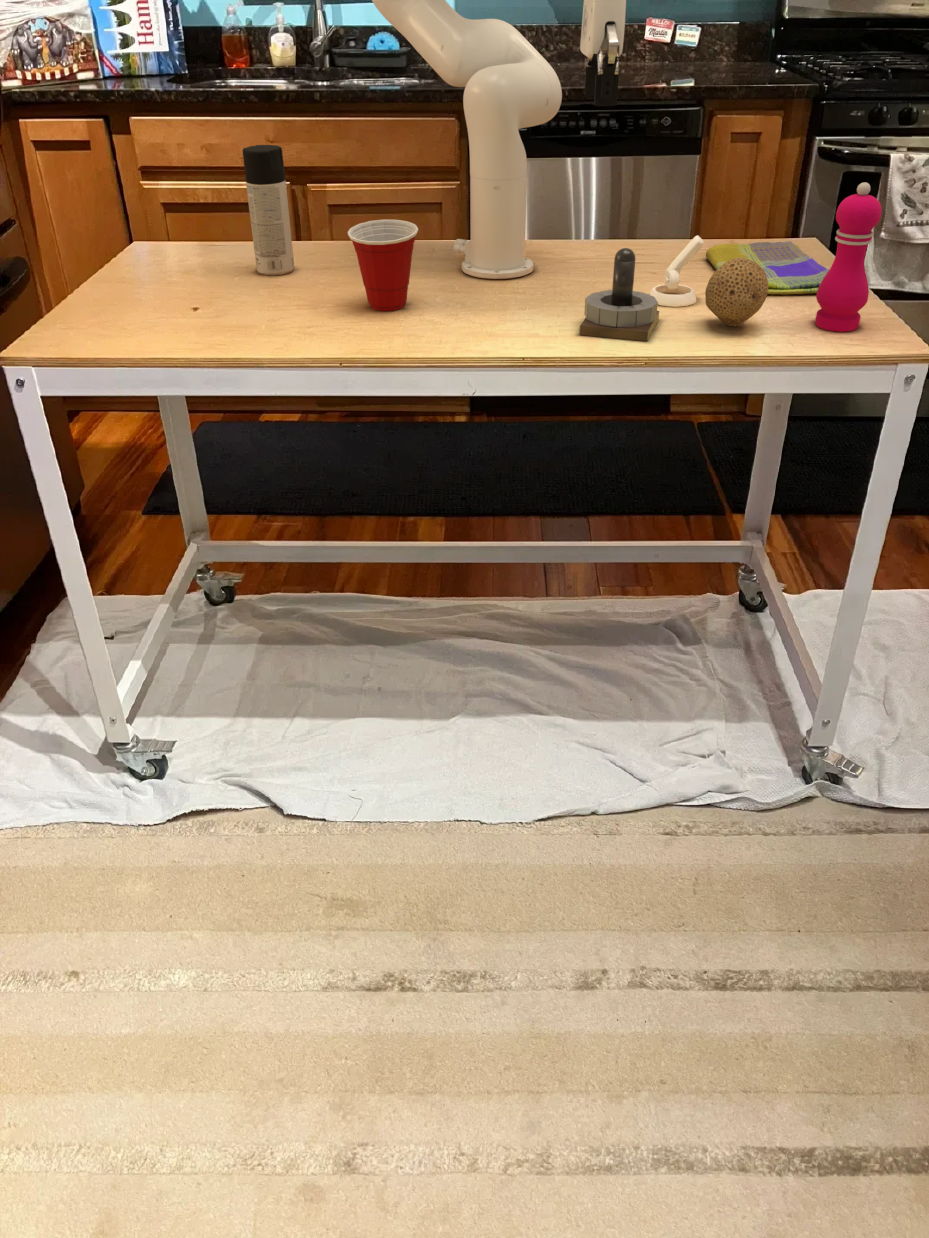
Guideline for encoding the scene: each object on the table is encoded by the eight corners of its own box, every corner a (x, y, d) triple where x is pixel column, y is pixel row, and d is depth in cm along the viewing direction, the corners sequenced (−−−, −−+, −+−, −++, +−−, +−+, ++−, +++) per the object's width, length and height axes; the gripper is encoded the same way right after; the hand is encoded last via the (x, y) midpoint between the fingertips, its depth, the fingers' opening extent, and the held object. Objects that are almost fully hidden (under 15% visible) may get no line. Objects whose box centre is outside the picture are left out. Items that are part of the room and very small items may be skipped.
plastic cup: (341, 313, 158) (334, 233, 152) (369, 293, 167) (365, 217, 160) (405, 320, 155) (401, 239, 148) (431, 300, 164) (428, 222, 157)
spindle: (579, 335, 149) (583, 254, 142) (593, 314, 157) (598, 237, 150) (647, 341, 146) (654, 260, 140) (658, 320, 154) (666, 242, 147)
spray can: (302, 269, 179) (290, 146, 168) (277, 278, 175) (263, 152, 163) (274, 264, 182) (260, 143, 171) (248, 273, 178) (232, 149, 166)
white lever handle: (735, 273, 156) (704, 249, 153) (681, 332, 163) (650, 310, 159) (722, 250, 161) (692, 227, 158) (670, 308, 168) (640, 286, 165)
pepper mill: (854, 336, 147) (885, 190, 136) (805, 328, 150) (831, 184, 139) (867, 322, 152) (898, 180, 141) (819, 315, 155) (845, 175, 144)
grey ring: (574, 321, 149) (575, 305, 148) (600, 302, 157) (601, 286, 156) (641, 331, 145) (643, 314, 144) (664, 311, 153) (666, 295, 152)
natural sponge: (760, 339, 146) (771, 269, 141) (698, 334, 149) (706, 265, 143) (762, 320, 154) (773, 252, 148) (703, 315, 156) (711, 248, 150)
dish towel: (734, 297, 163) (737, 279, 162) (702, 257, 184) (704, 241, 182) (842, 295, 164) (845, 277, 162) (798, 255, 184) (801, 239, 182)
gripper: (572, -38, 147) (567, 94, 157) (590, -35, 133) (583, 110, 143) (624, -38, 148) (615, 93, 157) (647, -35, 133) (635, 109, 143)
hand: (599, 101), depth 150 cm, fingers open, 9 cm apart
